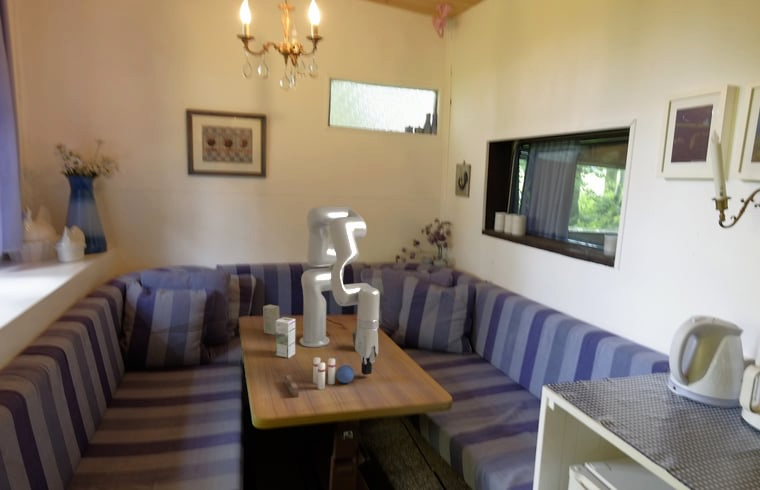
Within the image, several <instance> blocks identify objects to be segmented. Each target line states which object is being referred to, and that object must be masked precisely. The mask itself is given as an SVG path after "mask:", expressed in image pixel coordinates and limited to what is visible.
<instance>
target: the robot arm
mask: <svg viewBox="0 0 760 490" xmlns="http://www.w3.org/2000/svg"><path fill="white" fill-rule="evenodd" d="M306 225H307V229H308V241H307V255H306V256H307V257H306V260H307V264H308V265H309V266H310V267H312V269H311V268H310V269H307V270H305V271H304V272H303V273H302V275H301V280H300V283H301V287H302V295H303V296H302V297H303V320H302V321H303V325H302V326H303V331H302V334H303V336H302V337H300V339H299V344H300V345H301V346H304V347H309V348H319V347H324V346H327V345H328V344H330V338H329V337H327V336H326V335H327V333H326V331H327V320H326V318H327V300H326V298H325V296H323V294H322V292H326V291H327V292H328V291H331V292H332V295H333V299H334V301H335V303H336V304H337V305H338V306H341V307H350V306H355V305H356V306H357V314H356V315H357V321H356V327H357V328H356V329H357V331H356V342H355V345H354V349H355V352H357V354H359V355H360V358H361V359H360V360H361V374H362V375H363V376H366V375H371V374H372V373H373V371H372V369H373V363H375V362H376V360H375V359H376V358H377V357H378V355H379V332H378V330H379V325H380V324H379V323H380V297H381V295H380V294H381V293H380V291H379V289H377V288H375V287H373V286H371V285H370V284H369V283H367V282H360V283H359V282H358V283H348V284H344V282H343V281H344V271H345V267H346V266H347V265H349V264H351V263H353V262H354V261H356V260H357V259H358V258H359V256H360V252H359V248H358V244H357V241H356V239H363V238H364V237H366V235H367V232H368V227H367V223H366V221H365V219H364V218H363V217H362V216H361V215H360V214H358V213H357V212H356V211H355V210H354V209H352V208H351V207H349V206H343V205H341V206H333V205H332V206H331V205H328V206H327V205H326V206H325V205H323V206H315V207H312V208H310V209H309V211H308V212H307V217H306ZM330 239H331V241H332V242H331V243H330Z"/></svg>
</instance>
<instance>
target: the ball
mask: <svg viewBox="0 0 760 490" xmlns="http://www.w3.org/2000/svg"><path fill="white" fill-rule="evenodd" d="M354 377H355V371H354V369H353V367H352V366H351V365H348V364H344V365H340V366H339V367H338V369H337V371H336V379H337V380H338V382H340V383H342V384H348V383H350V382H352V381H353V379H354Z"/></svg>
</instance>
